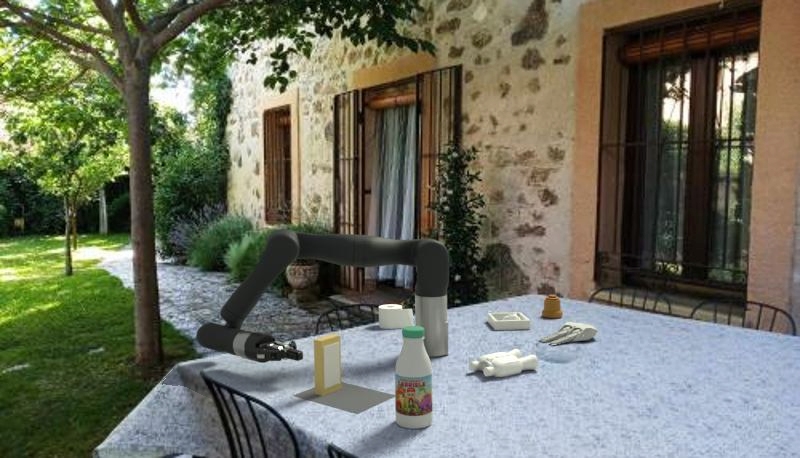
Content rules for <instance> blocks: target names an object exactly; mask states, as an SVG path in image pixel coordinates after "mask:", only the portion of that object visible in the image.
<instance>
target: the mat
mask: <svg viewBox="0 0 800 458" xmlns="http://www.w3.org/2000/svg"><path fill="white" fill-rule="evenodd" d="M292 396H293V397H296V398H300V399H302V400H307V401H308V402H309V401H310V402H313V403H317V404H320V405H325V406H327V407H331V408H334V409H339V410H342V411H345V412H348V413H353V414H356V415H358V414H362V413H363V412H366V411H367V410H369V409H372V408H374V407H376V406H378V405H380V404H383V403H384V402H387V401H389V400H391V399H393V398H395V394H392V393H387V392H383V391H380V390H377V389H371V388H367V387H364V386H360V385H355V384H352V383H348V382H343V381H341V389H338V390H336V391H333V392H331V393H328V394H326V395H324V396H321V395H317V394H315V386H314V387H312V388H309V389H307V390H304V391H302V392H299V393H296V394H293V395H292Z"/></svg>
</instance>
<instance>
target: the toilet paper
mask: <svg viewBox="0 0 800 458" xmlns="http://www.w3.org/2000/svg"><path fill="white" fill-rule="evenodd" d="M413 312H414V311H413V308H403V305H401V304H396V303H395V304H393V303H391V304H382V305H379V306H378V327H379V328H380V329H385V330H391V329H392V330H395V329H403V328H404V327H407V326H414V315H413Z"/></svg>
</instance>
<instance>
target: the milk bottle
mask: <svg viewBox="0 0 800 458" xmlns="http://www.w3.org/2000/svg"><path fill="white" fill-rule="evenodd" d="M401 336H402V338H401V339H402V340H403V341H402V342H403V343H402V347H401V349H400V353H399V355H398V357H397V359H396V363H395V372H394V373H395V374H394V377H395V378H394V380H395V382H394V387H395V388H394V392H395V393H394V395H395V397H394V398H395V422H396V424H397V425H398V426H399V427H401V428H405V429H410V430H411V429H413V430H415V429H417V430H418V429H424V428H427V427H430V426H431V425H432V423H433V417H434V414H433V411H434V410H433V409H434V404H433V403H434V400H433V398H434V397H433V369H432V363H431V359H430V357H429V356H428V354H427V352H426V350H425V347H424V343H423V339H424V328H423V327H420V326H415V325H413V326H407V327H404V328H401Z"/></svg>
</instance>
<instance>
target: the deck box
mask: <svg viewBox="0 0 800 458" xmlns="http://www.w3.org/2000/svg"><path fill="white" fill-rule="evenodd" d="M341 349H342V347H341V335H339V334H335V333H331V334H328V335H325V336H324V335H323V336H321V337H318V338H315V339H313V359H314V361H313V363H314V366H313V367H314V368H313V369H314V387H315V394H317V395H321V396H324V395H326V394H328V393H331V392H333V391H336V390H338V389H341V382H342V356H341V351H342V350H341Z"/></svg>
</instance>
